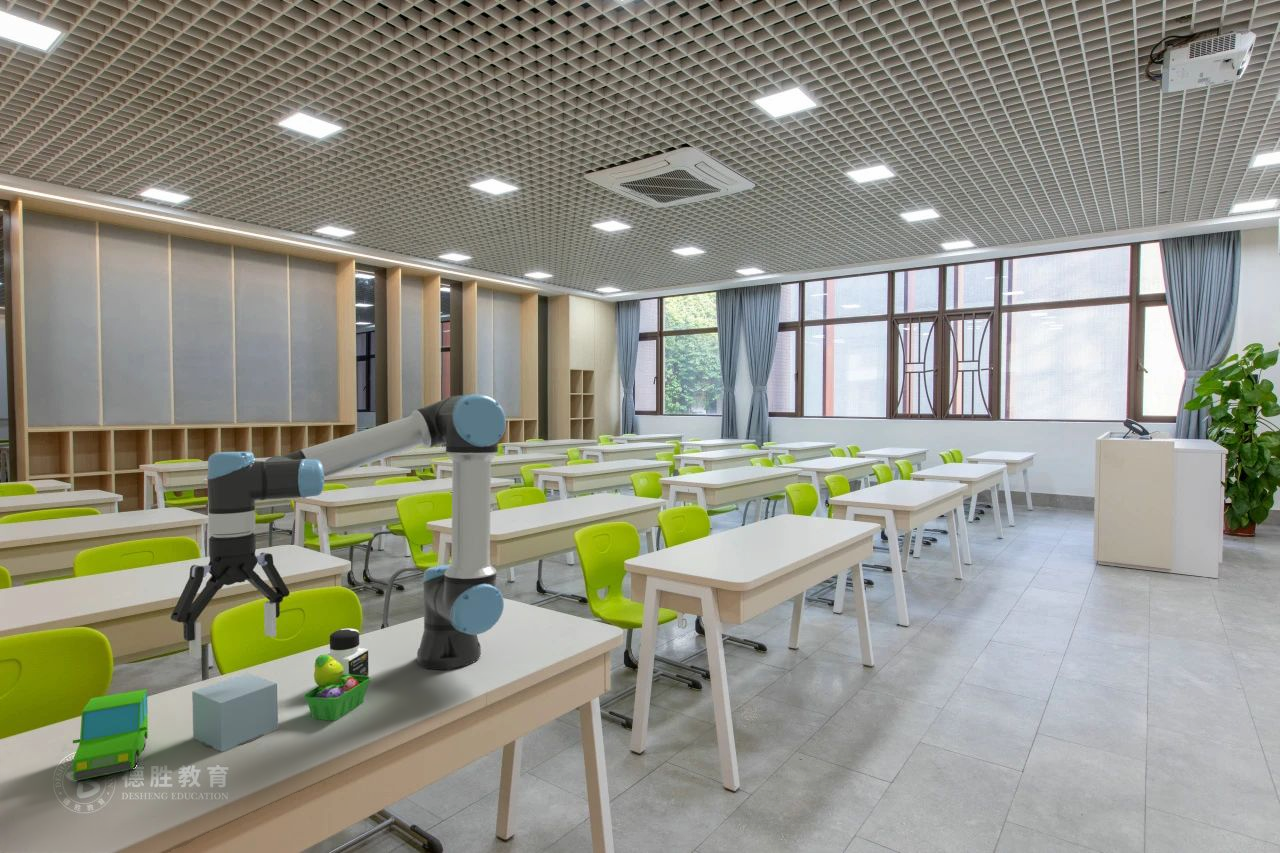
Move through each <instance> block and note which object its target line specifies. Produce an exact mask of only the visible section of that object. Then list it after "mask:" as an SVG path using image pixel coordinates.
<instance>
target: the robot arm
mask: <svg viewBox="0 0 1280 853" xmlns="http://www.w3.org/2000/svg"><path fill="white" fill-rule="evenodd" d="M506 426H507V418H506V414H505V411H504V409H503V407H502V406H501V405H500V404H499V402H497V400H496V399H494V398H492V397H490V396H488V395H485V394H484V395H483V394H481V393H478V394H477V393H467V394H461V395H459V394H457V395H452V396H448V397H446V398H444V399H441V400H439V401H436V402H434V403H432V404H429V405H426V406H424V407H421V408H418V409H415V410H413V411H412V413H411V415H409V416H407V417H404V418H403V417H402V418H400V419H397V420H393V421H390V422H388V423H384V424H380V425H377V426H374V427H371V428H368V429H364V430H361V431H358V432H354V433H351V434H349V435H345V436H341V437H338V438H334V439H332V440H329V441H325V442H323V443H319V444H315V445H312V446H309V447H305V448H303V449H302V448H301V449H300V450H296V451H293V452H290V453H287V454H283V455H275V456H272V457H269V458H267V459H266V460H263V461H260V460H256V458H255V454H254V452H252V451H220V452H213V453H212V454H210V456H208V459H207V477H206V478H207V498H208V499H207V503H208V504H207V507H208V534H210V535H211V536H210V537H209V538H208V555H209V562H208V564H207V565H197V564H192V565H191V567H190V568H189V578H188V579H187V582H186V583H185V586H184V589H183V590H182V593H181V594H180V595H179V596H180V597H179V598H178V601H177V603H176V605H175V607H174V609H173V611H172V613H171V615H170V620H172V621H174V622H177V623H182V624H183V626H182V627H183V628H182V630H183V639H184V641H187V642H188V647H189V648H188V650H189V651H188V652H189V653H188V654H189V656H188V657H190V658H193V659H196V660H199V659H201V658H202V627H201V626H202V624H201V623H202V622H201V621H200V620H198V619H199V616H201V614H202V612H203V611H204V610H205V609H206V607H207V606H208V605H209V603H210V602H211V601H212V599H213V598H214V596H215V595H216V594H217V592H219V590H221V589H222V588H223V587H224V585H226V586H231V585H234V584H235V583H244V582H245V581H248V582H249V583H250V584H251V585H252V586H254V588H255V589H257V591H259V593H261V594H262V595H263V596H264V597H265V598H266V599H267V600H268V601H264V602H263V603H264V605H263V606H264V608H263V609H264V612H263V613H264V636H268V637H271V638H274V637H277V618H280V614H281V613H280V612H281V611H280V608H281V606H280V603H282V602H283V600H284V598H285V597H286V598H287V597H288V596H290V590H289V589H288V587H287V585H286V583H285V582H284V579H283V578H282V577H281V574H280V573H279V571H278V569H277V567H276V565H275V564H274V558H273V554H272V553H269V552H268V553H267V552H261V553H259V555H256V549H257V547H256V546H257V544H256V542H257V538H256V537H257V536H256V534H255V532H254V531H255V530H256V506H255V505H256V504H255V503H256V501H265V500H281V499H283V500H284V499H295V498H297V499H299V498H302V499H306V498H308V497H317V496H319V495H321V494H323V492H324V491H323V490H324V487H325V479H326V478H329V477H332V476H335V475H338V474H341V473H344V472H348V471H351V470H353V469H357V468H359V467H363V466H366V465H368V464H371V463H374V462H377V461H380V460H384V459H387V458H390V457H392V456H396V455H398V454H402V453H405V452H407V451H411V450H413V449H414V450H415V449H416V448H420V447H422V448H424V449H429V448H433V447H437V446H441V445H445V454H446V455H447V456H448V458H450V459H451V461H452V487H451V488H452V489H451V490H452V491H451V497H452V499H451V503H452V504H451V563H450V564H449V563H448V564H441V565H436V566H435V565H434V566H431V567H428V568H427V569H425V570H424V573H423V581H422V584H423V586H422V587H423V624H424V625H423V627H424V628H423V633H422V636H421V641H420V645H419V648H418V649H417V652H416V661H417V664H418V665H419V666H420V665H421V666H420V667H422V666H423V667H422V668H425V667H426V668H425V669H429V668H430V669H429V670H448V668H451V669H456V668H455V667H457V668H461V667H460V666H462V667H464V666H463V665H465V666H468V665H470V664H469V663H471V662H473V661H475V660H477V659H478V658H479V657H480V658H481V656H482V649H481V647H482V646H481V643H480V641H479V638H478V635H480V634H484V633H486V632H488V631H489V630H491V629H492V628H493V627H494V626H495V625H496V624H497V623H498V622H499V620H500V618H501V616H502V615H503V612H504V606H505V605H504V604H505V602H504V597H503V595H502V593H501V591H500V589H499V588H498V587H497V569H496V568H495V567H494V566H492V564H491V562H490V559H491V557H490V556H491V553H490V552H491V495H492V494H491V490H492V489H491V485H492V484H491V483H492V481H491V479H492V478H491V477H492V476H491V475H492V460H494V458H495V456H497V455H498V454H499V441H500V439H501V438H502V437H503V435H504V433H505V431H506V428H507V427H506ZM257 565H259V566H261V569H262V570H263V572H264V574H265V575H266V577H267V578H268V580H269V582H270V584H271V586H272V587H273V588H271V586H270V585H268V584H267V583H266V582H265V581H264V580H263V579H262V578H261V576H260V575H259V574H258V573H257V572H256V571H255V570H254V569H255V567H256V566H257ZM208 573H209V574H210V575H211V576H210V577H209V578H208V580H207V581H206V583H205V586H204V588H203V589H202V590H201V591H200V592H199V594H198V591H199V589H200V587H201V585H202V584H203V581H204V580H203V579H204V578H205V577H206V576H207V574H208ZM197 594H198V595H197ZM196 596H197V597H196ZM480 655H481V656H480ZM480 658H479V659H480ZM479 659H478V660H479ZM478 660H477V661H478ZM475 662H476V661H475ZM473 663H474V662H473ZM467 664H468V665H467ZM471 664H472V663H471Z"/></svg>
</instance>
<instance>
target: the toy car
mask: <svg viewBox="0 0 1280 853" xmlns="http://www.w3.org/2000/svg"><path fill="white" fill-rule="evenodd" d="M148 713H149V712H148V689H141V690H133V691H128V692H122V693H115V694H110V695H103V696H96V697H92V698H90V699H89V701H88V702H87V704H86V705H85V706H84V708H83V709H82V711H81V719H80V720H81V721H80V722H81V723H80V735H79V738H78V739H74V740H73V739H72V744H78V743H79V744H78V747H77V748H76V752H75V754H74V757H73V759H72V766H73V767H72V768H73V769H72V772H73V776H72V777H73V782H76V781H77V780H80V781H83V780H82V779H85V780H86V779H90V778H96V777H99V776H104V775H109V774H114V773H118V772H119V773H120V772H124V771H131V770H130V769H133V768H135V767H136V765H137V766H138V764H139V761H138V760H139V757H141V755H142V752H143V750H145V749H146V744H147V739H148V737H149V724H148V723H149V722H148V721H149V718H148ZM144 748H145V749H144ZM136 768H137V767H136ZM133 770H134V769H133ZM77 782H78V781H77Z"/></svg>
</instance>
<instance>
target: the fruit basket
mask: <svg viewBox="0 0 1280 853" xmlns="http://www.w3.org/2000/svg"><path fill="white" fill-rule="evenodd" d="M343 671H344V669H343V666H342V665H341V664H340V663H339V662H338V661H336V660H335V659H333V658H332V657H331V656H328V655H327V653H326V654H321V655H319V656H317V657H316V659H315V662H314V671H313V672H314V674H313V678H314V683H315V684H316V685H317V686H316V687H315V688H313V689H311V690H309V691H308V692H306V693H305V694H304V695H303V696H304V699H305V701H306V702H307V705H308V708H309V711H310V714H311V716H312V718H313V719H316V720H317V719H318V720H324V721H333V722H335V721H337V720H338V719H340V717H342V716H344V715H346V714H347V713H349V712H350V711H352V710H353V709H355V708H356V707H357V706H359V705H361V704H362V703H364V701H365V696H366V692H367V688H368V686H369V685H368V684H369V682H370V680H371V676H360V675H351V674H343Z"/></svg>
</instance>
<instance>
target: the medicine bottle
mask: <svg viewBox="0 0 1280 853" xmlns="http://www.w3.org/2000/svg"><path fill="white" fill-rule="evenodd" d="M326 655H328V656H331V657H332V658H333V659H335V660H336V661H338V662H339V663H340V664H341V665H342V666H343V669H344V671H343V674H351V675H360V676H369V671H370V670H369V649H368V648H363V647H360V632H359V630H358V629H355V628H341V629H339V630H335V631H334V632H331V633H330V635H329V653H326ZM369 677H370V676H369Z"/></svg>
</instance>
